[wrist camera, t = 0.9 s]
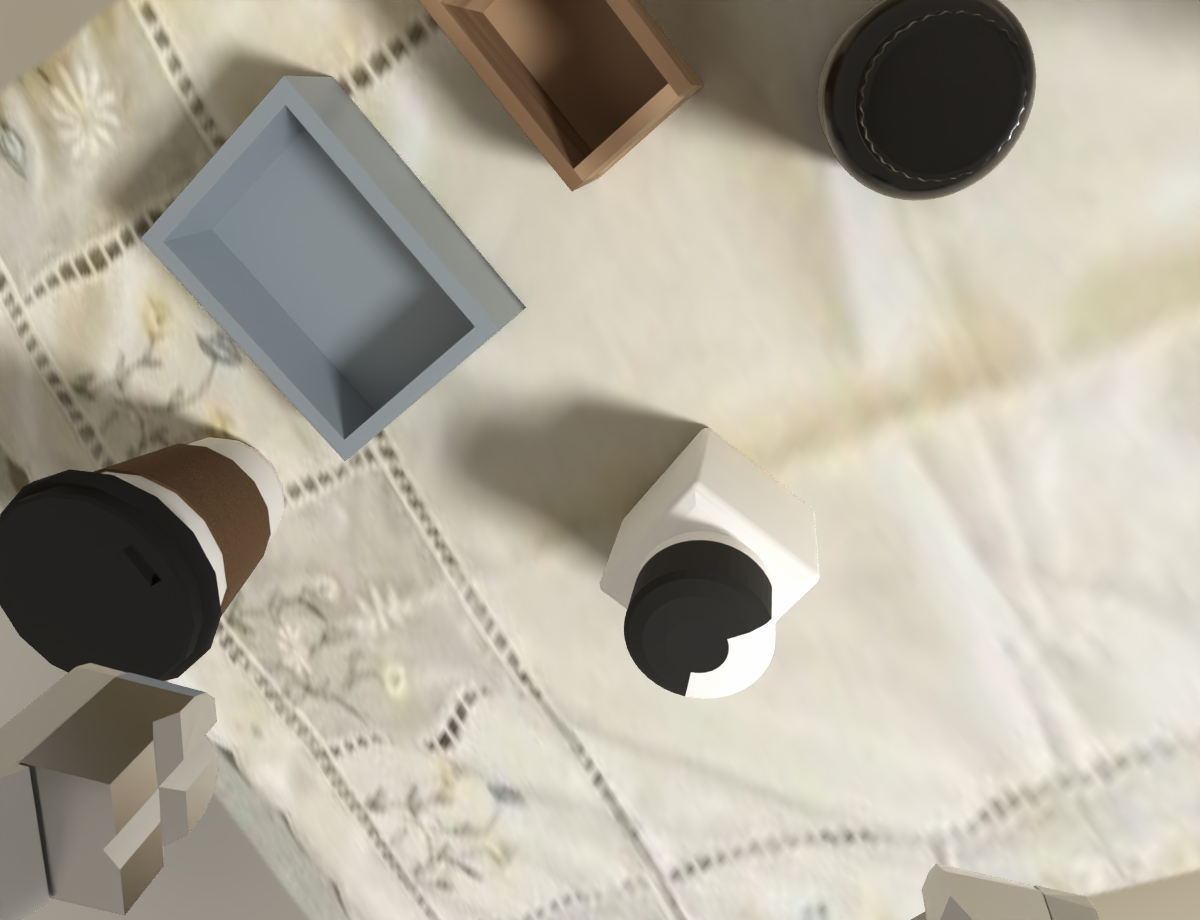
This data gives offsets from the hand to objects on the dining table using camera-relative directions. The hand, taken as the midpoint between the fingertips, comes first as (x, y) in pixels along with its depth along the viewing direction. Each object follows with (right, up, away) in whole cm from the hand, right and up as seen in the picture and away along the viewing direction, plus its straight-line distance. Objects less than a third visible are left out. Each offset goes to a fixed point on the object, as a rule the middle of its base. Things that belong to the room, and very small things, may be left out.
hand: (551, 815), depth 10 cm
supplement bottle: (+13, +19, +28) cm, 36 cm away
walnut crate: (0, +22, +29) cm, 37 cm away
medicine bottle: (+7, +1, +37) cm, 37 cm away
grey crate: (-11, +14, +35) cm, 39 cm away
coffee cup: (-20, +2, +41) cm, 46 cm away
